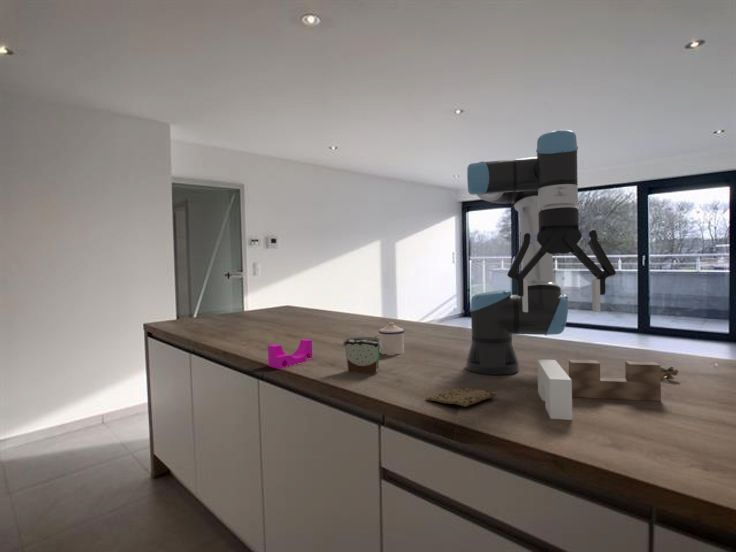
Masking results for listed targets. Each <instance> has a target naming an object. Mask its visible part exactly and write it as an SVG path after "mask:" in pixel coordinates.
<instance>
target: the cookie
mask: <svg viewBox="0 0 736 552" xmlns="http://www.w3.org/2000/svg"><path fill="white" fill-rule="evenodd" d="M497 394H498V393H497V392H496V391H492V390H487V389H486V390H485V389H483V390H482V389H481V390H480V389H471V388H467V387H456V388H453V389H449V390H447V391H444V392H441V393H437V394H435V395H432V396H428V397H426V398H425V401H433V402H438V403H442V404H452V405H458V406H462V407H468V406H471V405H474V404H476V403H479V402H483V401H485V400H487V399H490V398H492V397H495V396H497Z"/></svg>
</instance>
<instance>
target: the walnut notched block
mask: <svg viewBox="0 0 736 552" xmlns="http://www.w3.org/2000/svg"><path fill="white" fill-rule="evenodd" d="M624 364H625V366H624V370H625V377H624V378H623V377H622V378H621V377H601V363H600V362H599V361H598V360H597V359H596V360H593V359H592V360H590V359H568V376H569V377H570V379H571V380H572V398H587V399H588V398H590V399H593V398H594V399H606V400H607V399H610V400H612V399H613V400H629V401H646V402H647V401H648V402H649V401H650V402H661V401H662V393H661V392H662V388H661V387H662V385H661V384H662V382H661V368H660V367H661V364H659V363H657V362H655V361H632V360H631V361H628V360H625V361H624Z"/></svg>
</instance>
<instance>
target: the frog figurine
mask: <svg viewBox="0 0 736 552" xmlns="http://www.w3.org/2000/svg"><path fill="white" fill-rule="evenodd" d="M660 368H661V383H662V384H664V383H668V384H669V383H671V382H670V381H669V380H668V379H670V380H674V379H675V377H676V376H678V373H679V370H678V369H675V367H674V366H670V367H664V366H660ZM674 376H675V377H674Z"/></svg>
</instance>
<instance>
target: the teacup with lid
mask: <svg viewBox="0 0 736 552" xmlns="http://www.w3.org/2000/svg"><path fill="white" fill-rule="evenodd" d="M387 323H388V324H387V325H385V326H384V327H382V328H379V329H378V333H376V334H375V335H374V336H373V337H374V338H378V337H379V339H380V341H381V345H382V347H381V348H380V349H379V354H380V353H382V354H381V355H383V354H387V355H386V356H396V355H395V354H401V353H403V354H404V353H405V341H404V340H405V339H404V337H405V336H404V333H405V330H404V328H402V327H399V326H397V325H395V323H394V322H391V321H390V322H387ZM401 355H402V354H401Z"/></svg>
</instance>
